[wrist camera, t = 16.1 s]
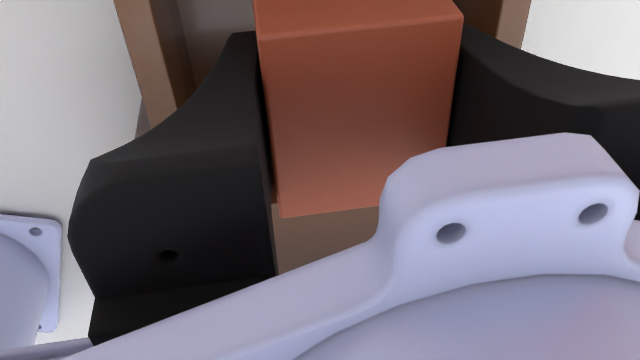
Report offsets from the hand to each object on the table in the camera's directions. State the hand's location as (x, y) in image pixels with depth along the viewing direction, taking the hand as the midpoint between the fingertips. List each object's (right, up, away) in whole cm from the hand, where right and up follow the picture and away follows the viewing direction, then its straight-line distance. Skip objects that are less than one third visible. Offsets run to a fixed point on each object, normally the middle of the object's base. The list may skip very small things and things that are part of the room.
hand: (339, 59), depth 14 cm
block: (0, +1, +1) cm, 1 cm away
